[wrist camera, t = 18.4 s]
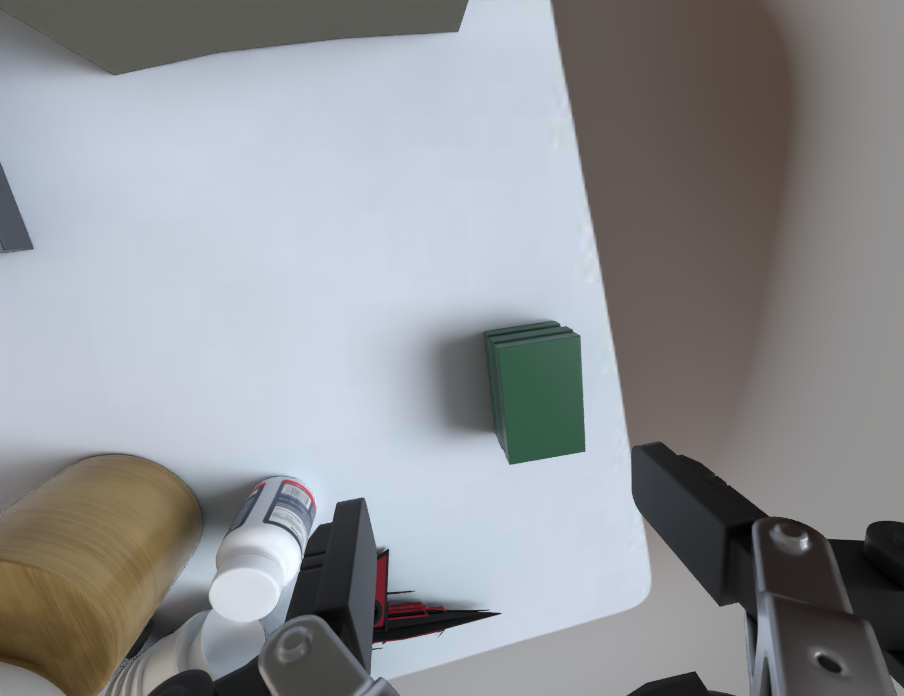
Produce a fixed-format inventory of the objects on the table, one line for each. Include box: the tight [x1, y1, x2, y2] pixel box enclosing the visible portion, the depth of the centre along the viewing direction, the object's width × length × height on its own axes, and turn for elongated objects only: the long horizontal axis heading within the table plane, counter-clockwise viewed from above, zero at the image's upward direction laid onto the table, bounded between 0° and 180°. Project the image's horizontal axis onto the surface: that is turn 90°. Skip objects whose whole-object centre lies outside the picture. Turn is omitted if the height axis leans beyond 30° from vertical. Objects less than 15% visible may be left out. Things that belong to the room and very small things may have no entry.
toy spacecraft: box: [372, 549, 502, 650], centre depth 36 cm, size 4×15×10 cm
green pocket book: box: [494, 332, 585, 465], centre depth 29 cm, size 8×6×1 cm, turn 7°
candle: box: [98, 608, 266, 696], centre depth 32 cm, size 7×7×15 cm
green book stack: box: [484, 321, 573, 452], centre depth 31 cm, size 9×6×4 cm, turn 7°
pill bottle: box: [209, 476, 317, 622], centre depth 29 cm, size 5×5×9 cm
